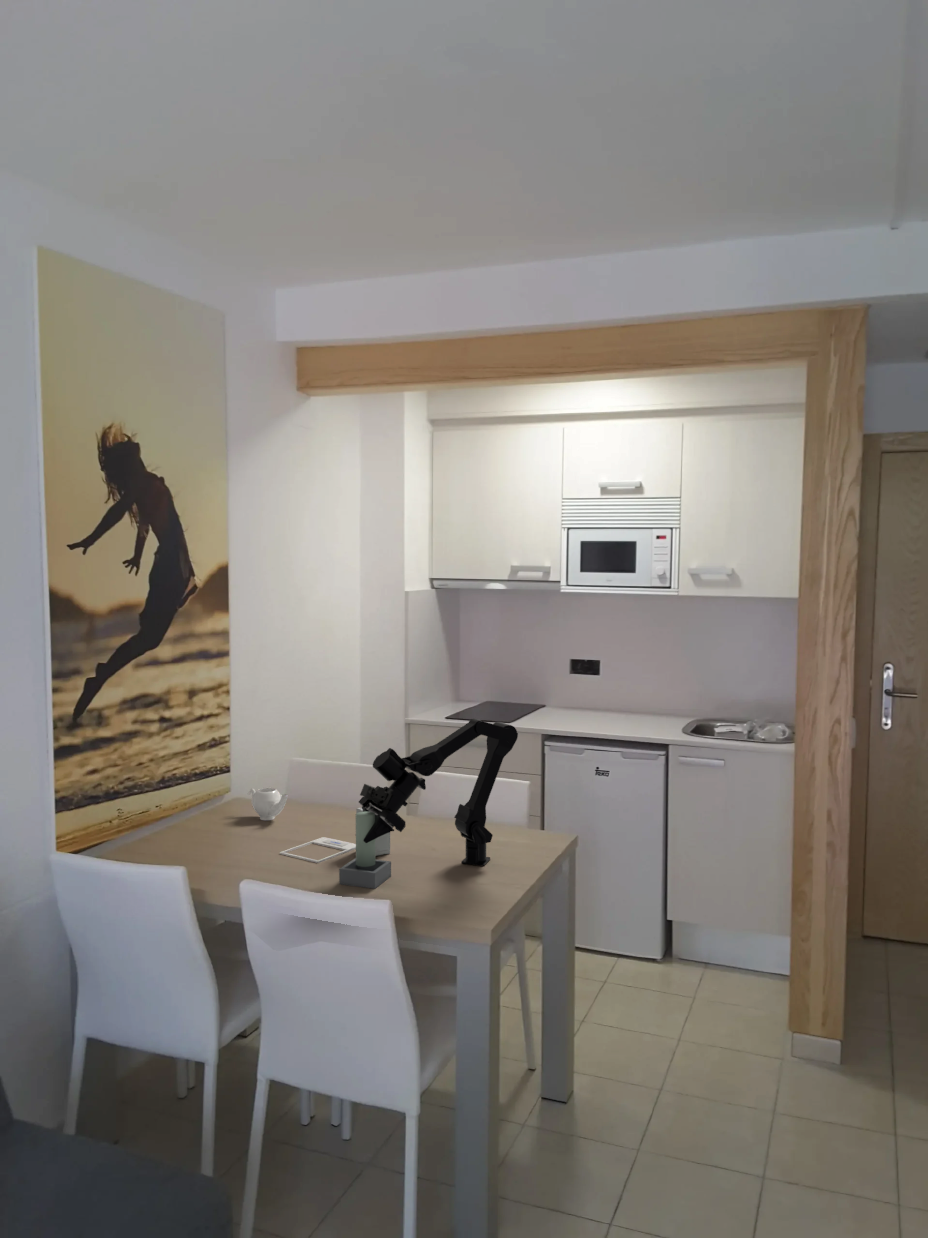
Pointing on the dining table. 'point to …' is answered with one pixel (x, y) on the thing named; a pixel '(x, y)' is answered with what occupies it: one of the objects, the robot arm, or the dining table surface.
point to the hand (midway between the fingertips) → (360, 839)
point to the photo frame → (324, 842)
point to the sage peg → (363, 850)
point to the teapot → (267, 802)
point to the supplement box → (380, 841)
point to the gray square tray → (365, 874)
